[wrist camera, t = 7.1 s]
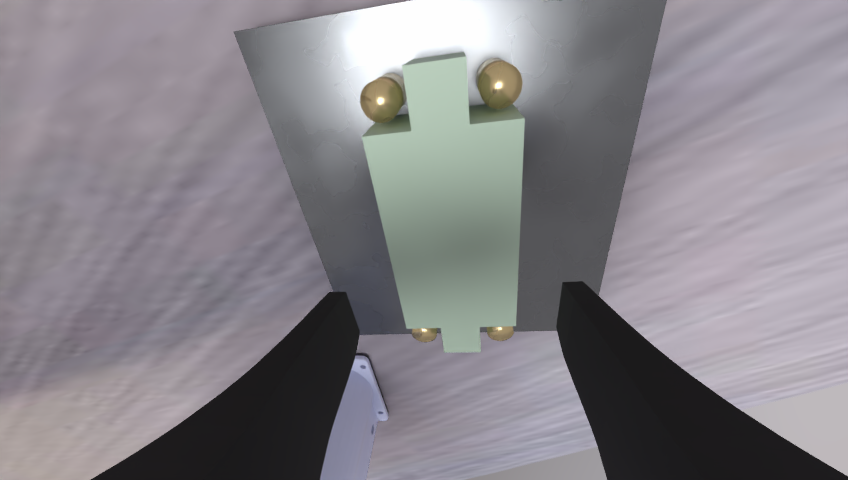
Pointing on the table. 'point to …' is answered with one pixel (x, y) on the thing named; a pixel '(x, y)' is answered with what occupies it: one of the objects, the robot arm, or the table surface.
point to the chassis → (487, 84)
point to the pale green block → (450, 203)
